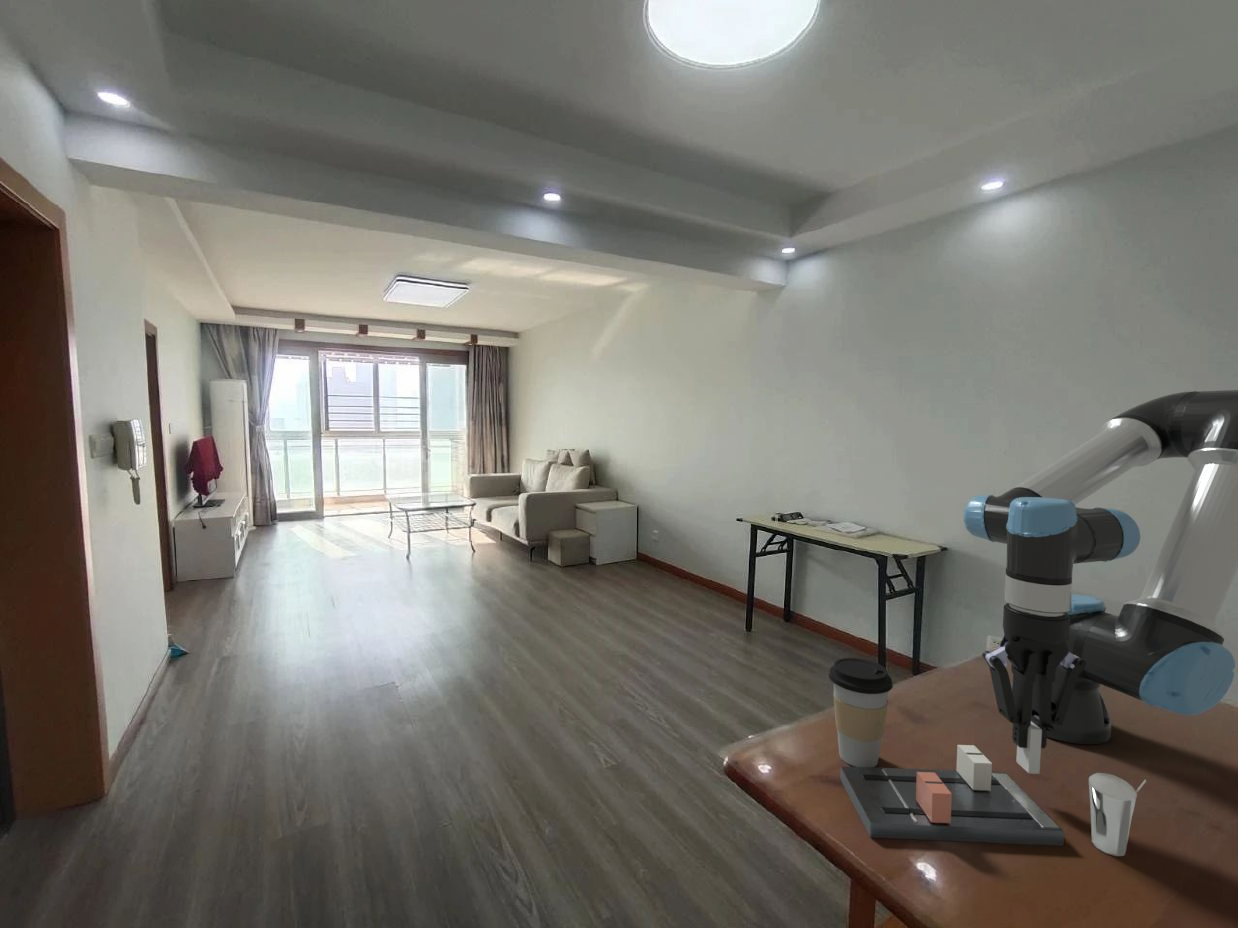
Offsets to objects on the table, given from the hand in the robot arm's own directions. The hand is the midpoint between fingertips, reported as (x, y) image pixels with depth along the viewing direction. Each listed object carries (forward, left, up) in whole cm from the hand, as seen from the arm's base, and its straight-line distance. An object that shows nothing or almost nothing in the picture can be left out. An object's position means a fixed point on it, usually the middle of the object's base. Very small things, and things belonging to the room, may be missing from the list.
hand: (1027, 767), depth 80 cm
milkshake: (-5, +9, -5) cm, 12 cm away
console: (+13, +3, -5) cm, 15 cm away
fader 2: (+7, 0, -2) cm, 8 cm away
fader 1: (+16, +7, -2) cm, 18 cm away
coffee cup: (+21, -8, -5) cm, 23 cm away
